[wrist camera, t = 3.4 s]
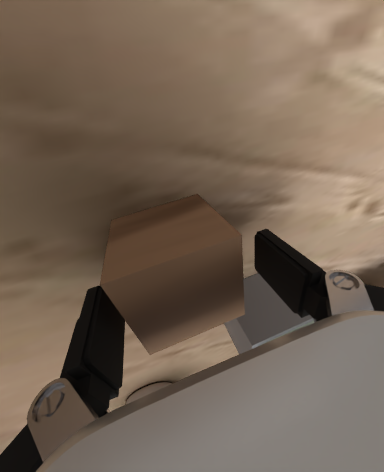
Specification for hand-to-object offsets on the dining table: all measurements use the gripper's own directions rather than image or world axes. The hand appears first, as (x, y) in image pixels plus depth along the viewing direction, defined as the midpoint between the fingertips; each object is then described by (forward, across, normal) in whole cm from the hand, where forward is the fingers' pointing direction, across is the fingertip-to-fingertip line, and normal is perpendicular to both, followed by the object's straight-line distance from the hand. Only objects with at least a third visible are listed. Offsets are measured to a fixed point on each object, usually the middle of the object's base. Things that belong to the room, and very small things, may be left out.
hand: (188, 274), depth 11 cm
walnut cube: (+4, +1, 0) cm, 4 cm away
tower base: (+4, -6, +11) cm, 13 cm away
